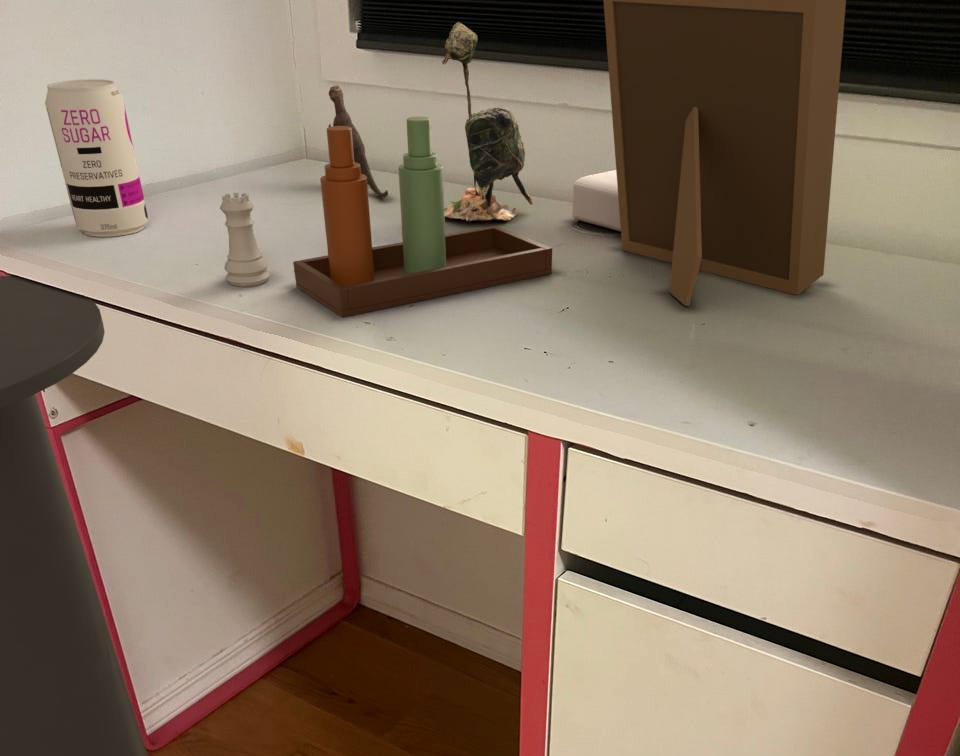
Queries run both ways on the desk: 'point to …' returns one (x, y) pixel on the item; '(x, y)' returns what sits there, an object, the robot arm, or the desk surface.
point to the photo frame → (726, 135)
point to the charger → (597, 200)
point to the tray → (428, 271)
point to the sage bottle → (421, 201)
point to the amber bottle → (346, 212)
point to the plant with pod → (485, 144)
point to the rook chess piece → (242, 244)
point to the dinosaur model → (358, 146)
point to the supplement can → (97, 156)
